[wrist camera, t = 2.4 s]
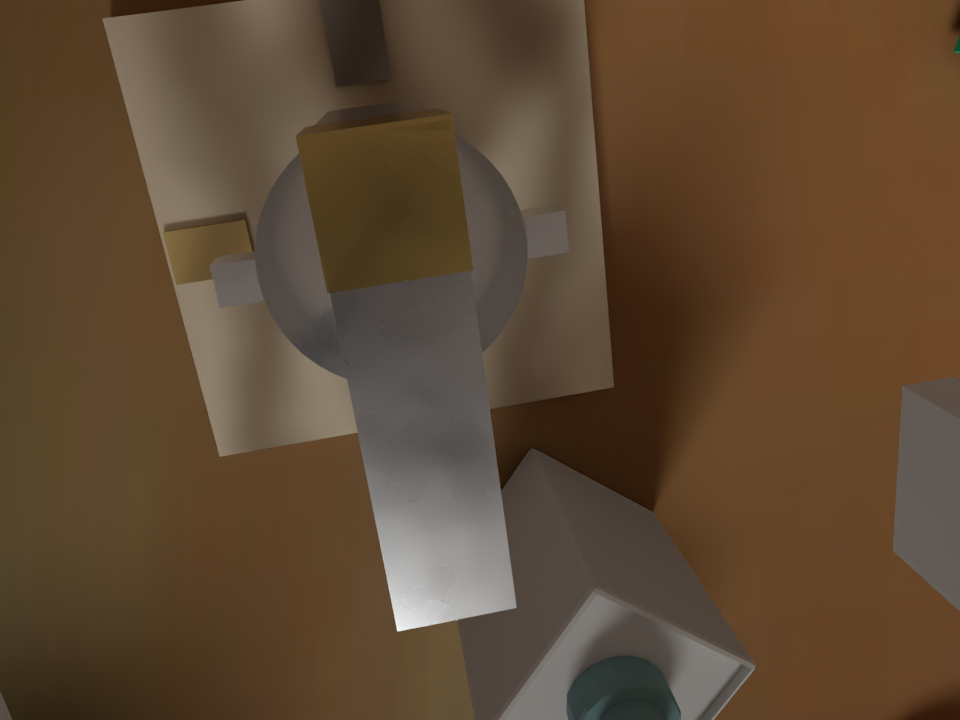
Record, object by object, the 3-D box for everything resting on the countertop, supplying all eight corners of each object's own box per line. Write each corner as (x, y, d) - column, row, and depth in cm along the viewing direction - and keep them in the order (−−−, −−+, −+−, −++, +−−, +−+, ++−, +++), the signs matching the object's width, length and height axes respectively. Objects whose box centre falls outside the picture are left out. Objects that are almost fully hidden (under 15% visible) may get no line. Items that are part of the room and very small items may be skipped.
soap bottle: (527, 443, 43) (645, 700, 25) (655, 511, 46) (843, 789, 28) (443, 567, 45) (497, 888, 27) (570, 626, 48) (696, 956, 30)
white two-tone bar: (254, 406, 33) (167, 677, 18) (185, 126, 29) (4, 177, 14) (568, 352, 34) (730, 565, 19) (542, 76, 30) (717, 75, 16)
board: (223, 446, 41) (218, 459, 40) (110, 20, 34) (100, 17, 33) (607, 379, 43) (615, 389, 41) (574, -39, 36) (582, -44, 34)
